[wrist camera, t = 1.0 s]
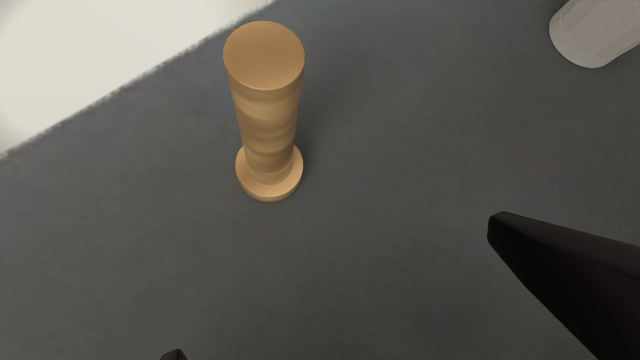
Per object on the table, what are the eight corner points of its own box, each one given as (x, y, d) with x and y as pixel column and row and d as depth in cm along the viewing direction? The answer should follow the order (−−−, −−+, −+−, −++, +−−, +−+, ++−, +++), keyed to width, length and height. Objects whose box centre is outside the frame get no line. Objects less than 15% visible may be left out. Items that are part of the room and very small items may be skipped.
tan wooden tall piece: (314, 166, 25) (352, 48, 13) (275, 215, 24) (276, 136, 11) (264, 130, 25) (254, -19, 13) (224, 176, 24) (169, 59, 12)
